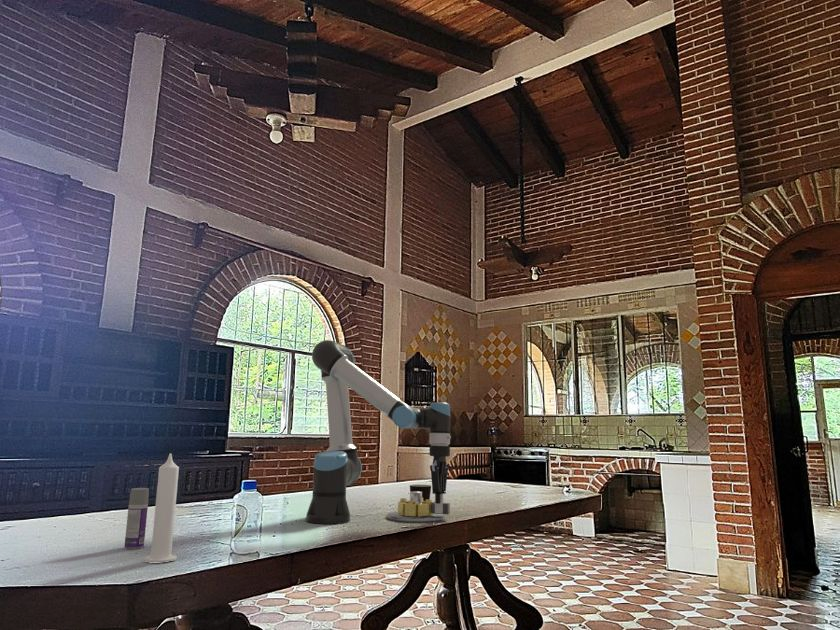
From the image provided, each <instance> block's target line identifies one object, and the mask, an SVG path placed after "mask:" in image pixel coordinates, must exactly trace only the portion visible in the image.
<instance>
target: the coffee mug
mask: <svg viewBox="0 0 840 630" xmlns="http://www.w3.org/2000/svg"><path fill="white" fill-rule="evenodd" d="M413 491H418V492H422V498H423V501H426V500H427V499H428V500H431V494H432V493H431V492H432V484H410V485H409V493H410V492H413Z"/></svg>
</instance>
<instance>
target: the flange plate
mask: <svg viewBox="0 0 840 630" xmlns="http://www.w3.org/2000/svg"><path fill="white" fill-rule="evenodd" d="M409 500H414V504H422V492H418V491H413V492H410V491H409ZM445 515H446V514H433V515H431V516H419V517H418V516H416V517H415V516H405V515H404V516H403V515H399V514H398V511H392V512H388V513H387V514H386V519H387V520H389V521H393V522H397V523H398V522H399V523H409V522H410V523H411V524H414V523H415V524H417V523H419V524H420V523H421V524H423V523H437V522H441V521H444V520H445V517H446V516H445Z"/></svg>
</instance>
